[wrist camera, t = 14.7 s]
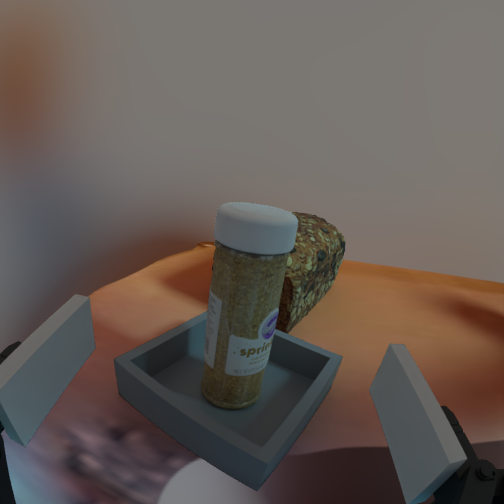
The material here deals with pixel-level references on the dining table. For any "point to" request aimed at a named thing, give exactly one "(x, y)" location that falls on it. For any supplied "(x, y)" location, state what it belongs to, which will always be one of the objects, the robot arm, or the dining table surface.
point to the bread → (309, 269)
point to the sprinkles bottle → (244, 299)
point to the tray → (220, 419)
